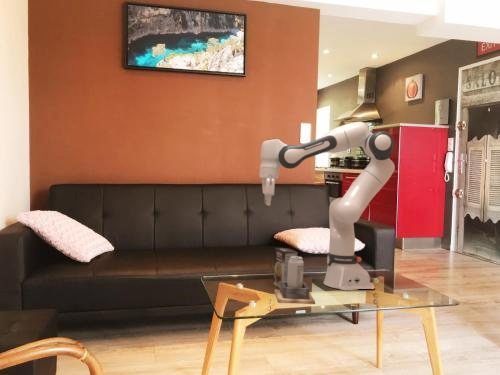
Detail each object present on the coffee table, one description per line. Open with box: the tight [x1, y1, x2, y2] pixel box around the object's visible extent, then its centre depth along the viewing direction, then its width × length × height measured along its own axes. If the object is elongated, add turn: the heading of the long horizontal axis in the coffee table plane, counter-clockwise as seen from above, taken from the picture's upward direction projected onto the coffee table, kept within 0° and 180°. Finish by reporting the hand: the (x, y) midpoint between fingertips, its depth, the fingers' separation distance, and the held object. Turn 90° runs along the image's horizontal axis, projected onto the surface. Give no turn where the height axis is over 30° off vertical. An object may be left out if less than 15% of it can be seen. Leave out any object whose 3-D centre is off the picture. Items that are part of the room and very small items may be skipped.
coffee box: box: [272, 247, 298, 289], centre depth 185 cm, size 9×6×16 cm
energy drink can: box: [287, 255, 305, 288], centre depth 169 cm, size 6×6×15 cm
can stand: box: [274, 281, 316, 305], centre depth 170 cm, size 14×14×5 cm
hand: (267, 204), depth 196 cm, fingers open, 8 cm apart
